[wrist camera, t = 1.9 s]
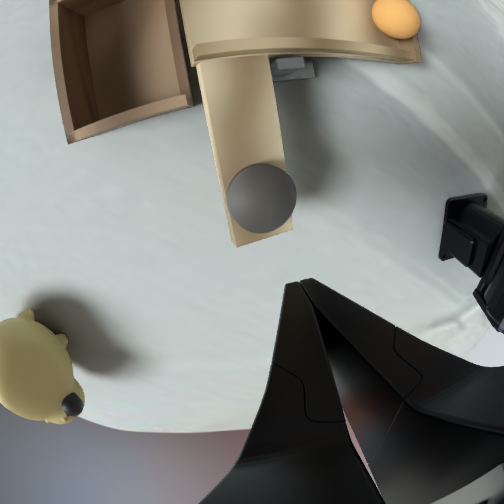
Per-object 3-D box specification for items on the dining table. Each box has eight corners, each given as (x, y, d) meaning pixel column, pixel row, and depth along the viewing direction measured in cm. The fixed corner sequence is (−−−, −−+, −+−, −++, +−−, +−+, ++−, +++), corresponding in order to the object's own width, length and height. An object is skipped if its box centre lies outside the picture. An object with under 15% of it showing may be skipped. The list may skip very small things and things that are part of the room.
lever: (382, -5, 12) (405, -12, 10) (404, 188, 20) (427, 197, 18) (175, -23, 9) (182, -44, 7) (227, 241, 17) (240, 259, 15)
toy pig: (63, 379, 28) (42, 447, 18) (-2, 312, 22) (-43, 378, 13) (112, 363, 27) (91, 448, 17) (35, 281, 21) (-19, 361, 12)
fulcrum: (291, -23, 12) (308, -50, 8) (312, 78, 16) (337, 71, 12) (218, -19, 12) (219, -47, 8) (238, 86, 16) (244, 78, 12)
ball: (393, 6, 12) (424, -3, 9) (402, 44, 13) (434, 40, 11) (357, -3, 11) (387, -16, 9) (366, 38, 13) (399, 31, 10)
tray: (172, -18, 12) (161, -46, 8) (194, 106, 17) (187, 105, 13) (78, 15, 12) (49, 0, 8) (97, 135, 16) (68, 144, 12)
